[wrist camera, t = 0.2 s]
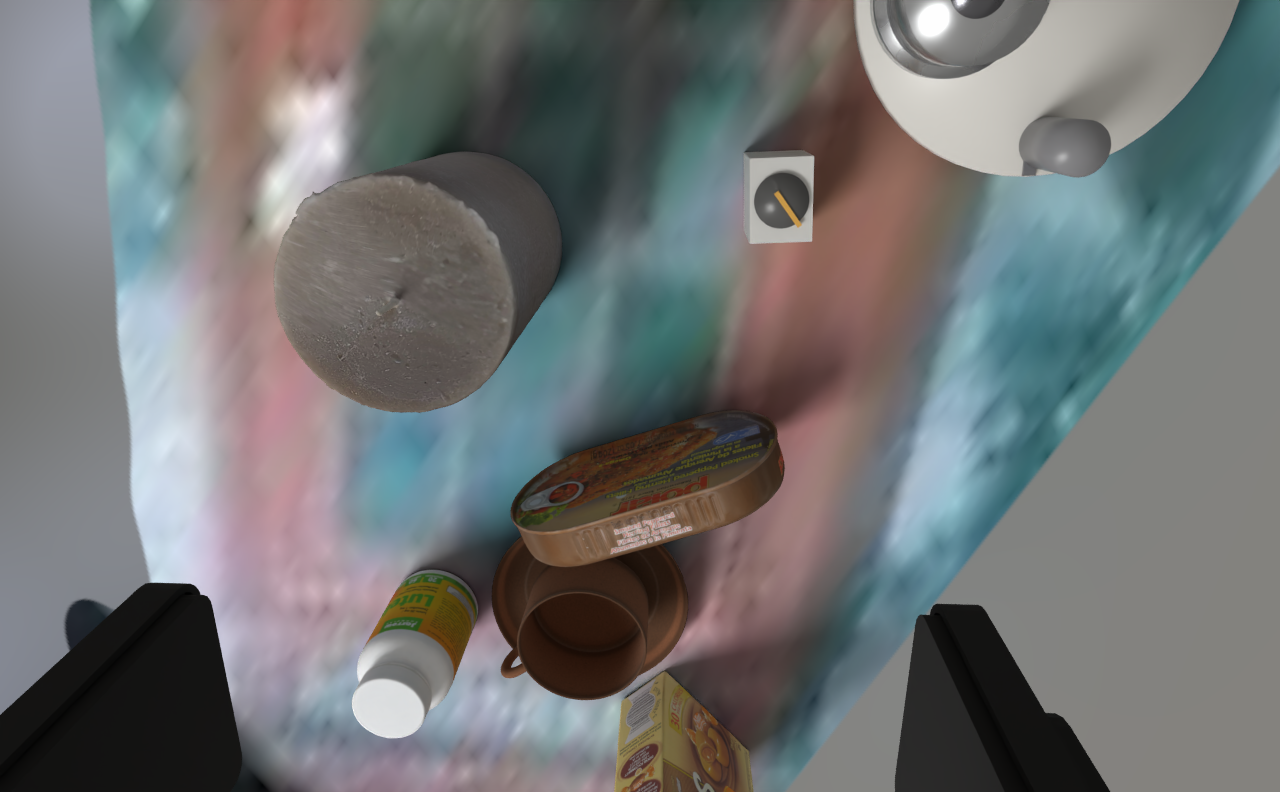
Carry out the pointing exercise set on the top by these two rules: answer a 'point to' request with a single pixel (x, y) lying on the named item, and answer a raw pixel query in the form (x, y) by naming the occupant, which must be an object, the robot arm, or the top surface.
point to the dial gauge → (778, 196)
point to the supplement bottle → (414, 653)
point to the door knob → (952, 33)
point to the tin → (650, 488)
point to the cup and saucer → (588, 619)
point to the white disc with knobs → (1056, 85)
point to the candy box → (676, 744)
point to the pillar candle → (416, 278)
